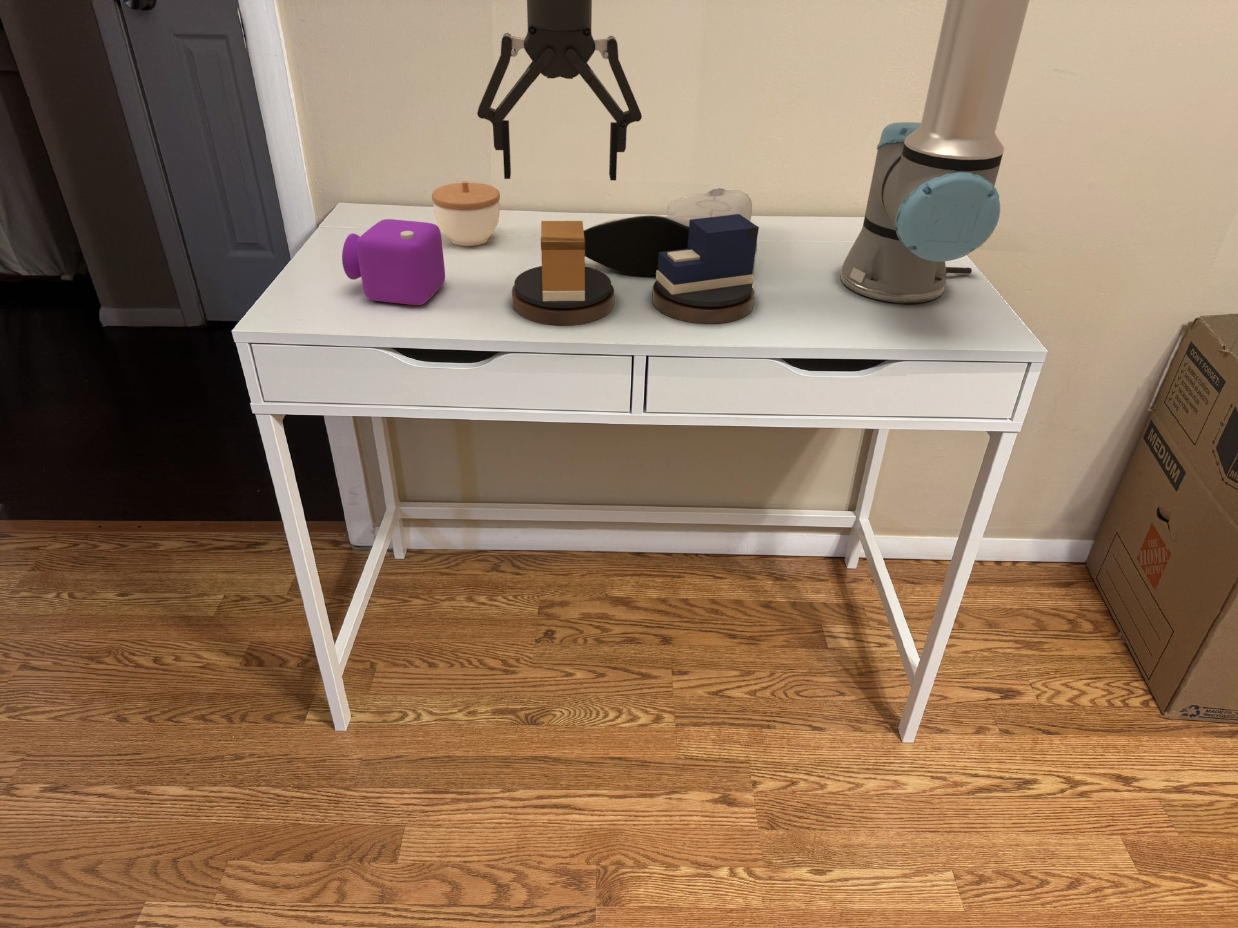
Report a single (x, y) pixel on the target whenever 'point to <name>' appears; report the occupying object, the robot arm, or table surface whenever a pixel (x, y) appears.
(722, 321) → the turntable base
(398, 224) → the toy camera
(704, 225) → the navy and black piece
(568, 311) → the turntable base
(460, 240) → the trinket box
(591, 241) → the cowboy boot
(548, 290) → the tan sneaker
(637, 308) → the table surface
